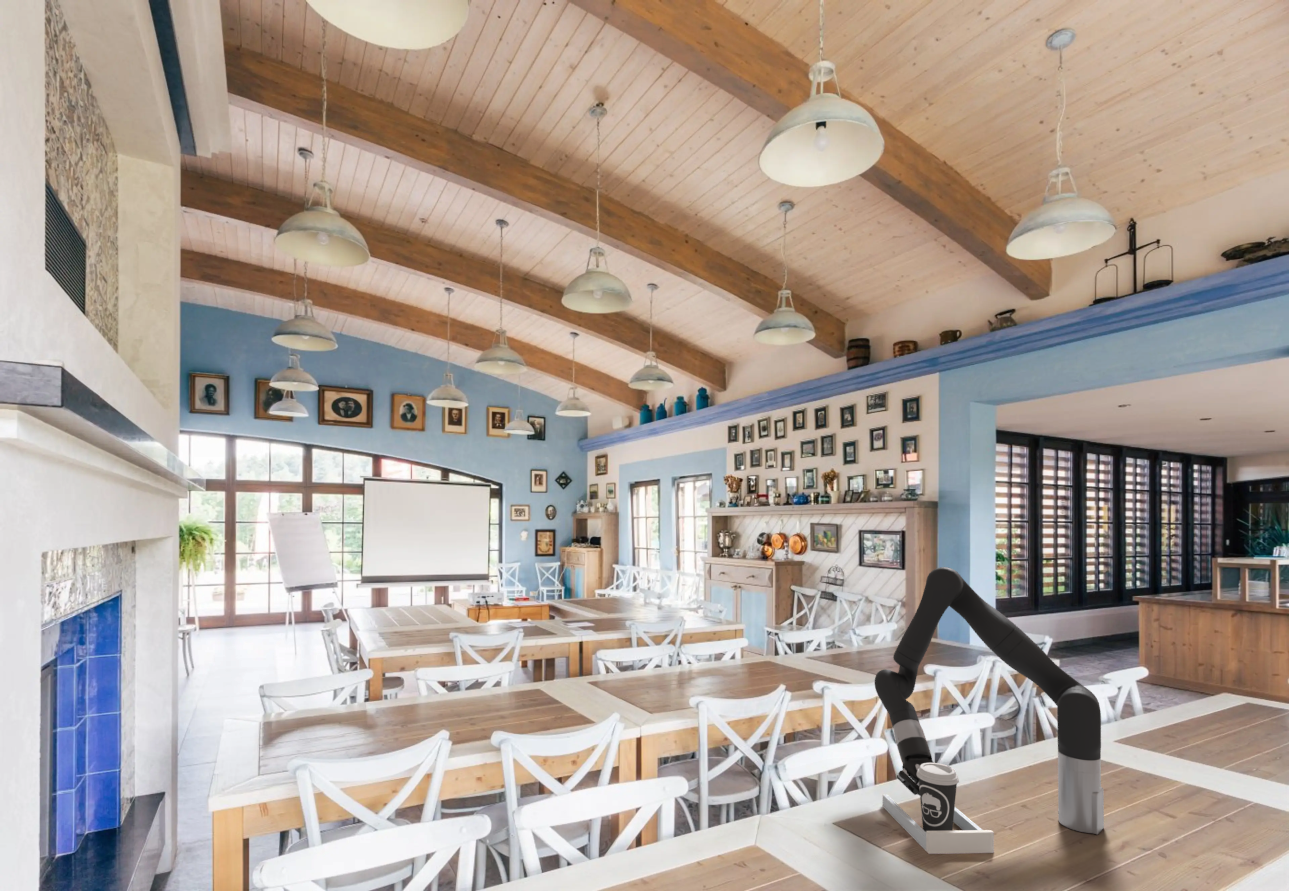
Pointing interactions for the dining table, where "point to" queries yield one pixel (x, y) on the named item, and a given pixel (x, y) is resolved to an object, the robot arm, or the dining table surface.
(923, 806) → the coffee cup
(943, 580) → the robot arm
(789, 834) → the dining table surface
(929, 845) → the white rectangular tray frame
